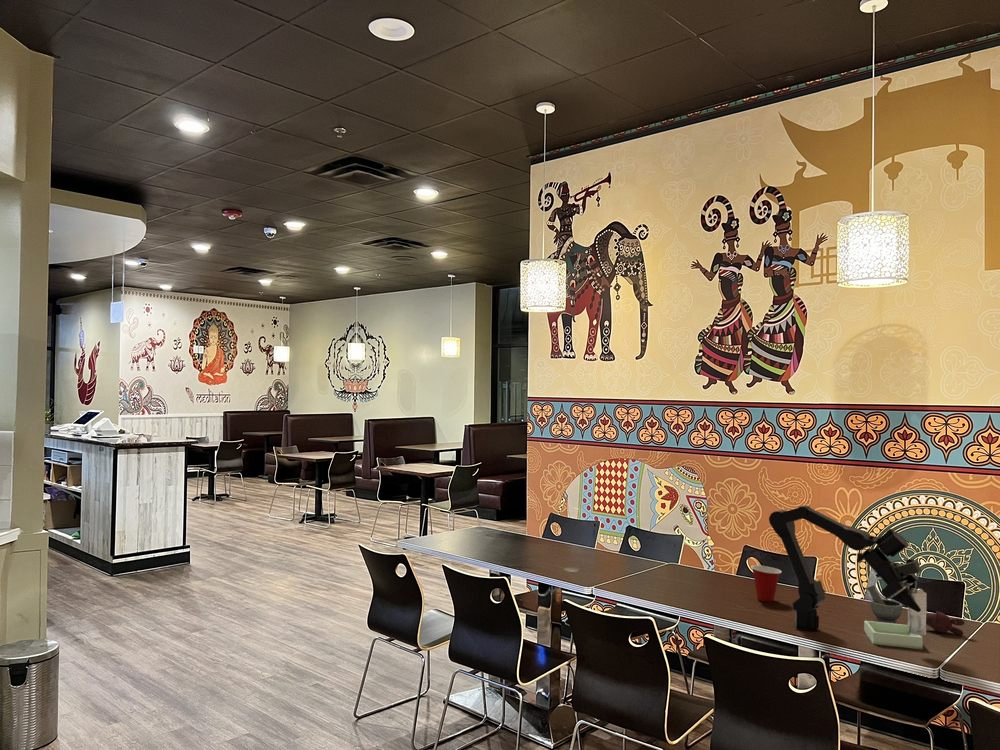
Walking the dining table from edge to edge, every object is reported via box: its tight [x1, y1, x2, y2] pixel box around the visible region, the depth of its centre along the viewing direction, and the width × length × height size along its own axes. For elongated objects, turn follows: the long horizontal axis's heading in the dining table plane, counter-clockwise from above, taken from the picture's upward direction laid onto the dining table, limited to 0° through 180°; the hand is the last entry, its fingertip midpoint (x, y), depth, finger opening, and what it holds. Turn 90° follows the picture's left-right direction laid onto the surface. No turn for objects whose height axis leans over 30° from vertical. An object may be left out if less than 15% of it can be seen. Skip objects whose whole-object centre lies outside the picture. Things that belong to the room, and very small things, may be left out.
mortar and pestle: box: [866, 584, 903, 624], centre depth 250 cm, size 11×9×12 cm
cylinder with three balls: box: [907, 588, 927, 636], centre depth 218 cm, size 5×5×13 cm
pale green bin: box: [863, 620, 924, 650], centre depth 230 cm, size 14×14×4 cm
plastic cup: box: [751, 564, 782, 603], centre depth 275 cm, size 11×11×12 cm
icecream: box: [926, 610, 965, 636], centre depth 241 cm, size 7×7×15 cm
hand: (922, 609), depth 217 cm, fingers closed on cylinder with three balls, 5 cm apart
